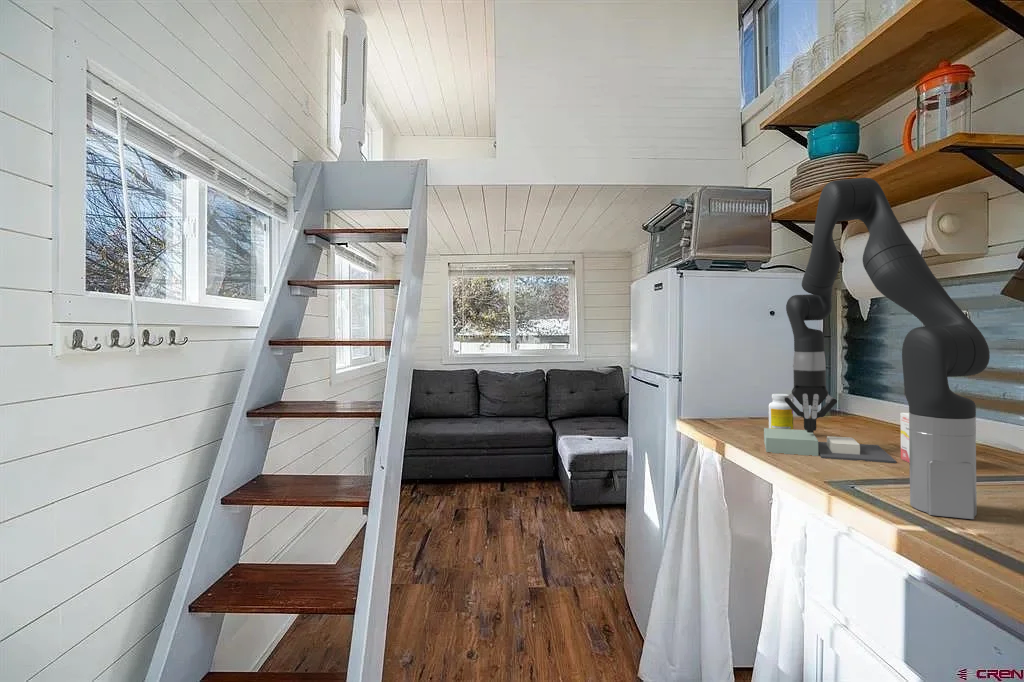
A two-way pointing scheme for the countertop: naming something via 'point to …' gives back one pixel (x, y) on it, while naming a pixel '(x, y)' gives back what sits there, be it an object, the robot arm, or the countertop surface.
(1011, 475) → the countertop surface
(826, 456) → the mat
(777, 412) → the supplement bottle
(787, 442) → the block
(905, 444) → the ink cartridge box
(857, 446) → the tile
